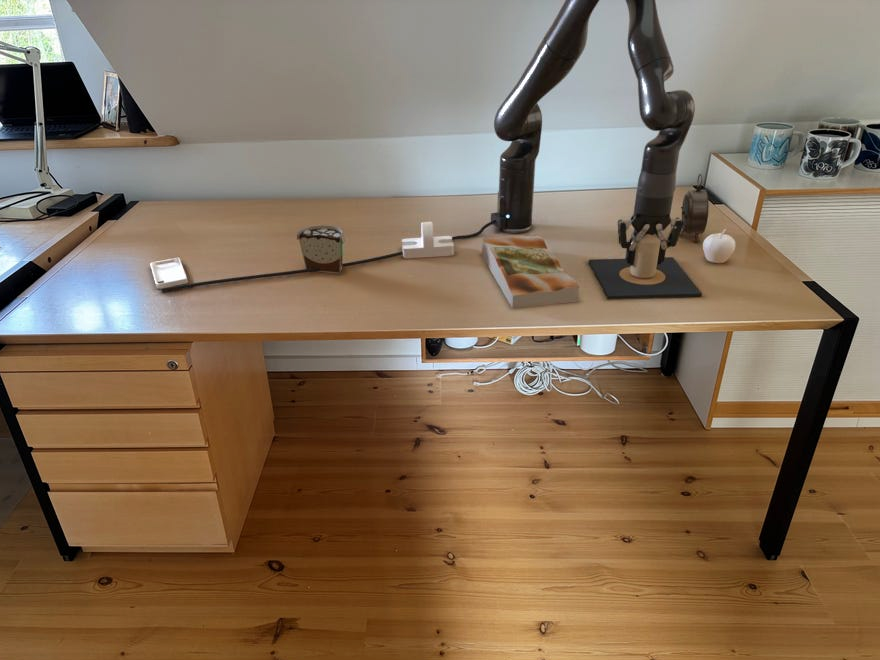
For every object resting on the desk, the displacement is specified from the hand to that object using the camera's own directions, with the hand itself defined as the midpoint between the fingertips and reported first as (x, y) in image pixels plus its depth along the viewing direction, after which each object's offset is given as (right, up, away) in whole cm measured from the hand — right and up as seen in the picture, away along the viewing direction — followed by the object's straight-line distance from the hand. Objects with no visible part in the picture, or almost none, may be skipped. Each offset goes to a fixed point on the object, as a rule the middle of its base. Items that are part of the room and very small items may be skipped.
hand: (643, 263), depth 152 cm
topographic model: (-26, -2, +6) cm, 26 cm away
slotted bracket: (-48, +6, +21) cm, 53 cm away
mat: (0, -3, +2) cm, 4 cm away
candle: (0, -2, +1) cm, 2 cm away
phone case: (-113, -1, +16) cm, 115 cm away
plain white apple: (+20, +2, +9) cm, 22 cm away
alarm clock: (+20, +10, +22) cm, 32 cm away
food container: (-73, +1, +16) cm, 75 cm away
